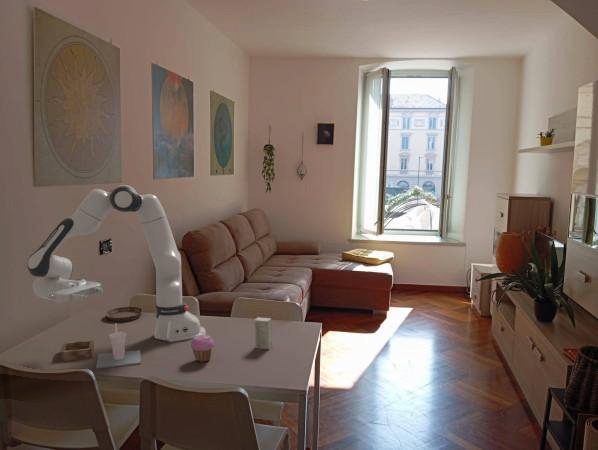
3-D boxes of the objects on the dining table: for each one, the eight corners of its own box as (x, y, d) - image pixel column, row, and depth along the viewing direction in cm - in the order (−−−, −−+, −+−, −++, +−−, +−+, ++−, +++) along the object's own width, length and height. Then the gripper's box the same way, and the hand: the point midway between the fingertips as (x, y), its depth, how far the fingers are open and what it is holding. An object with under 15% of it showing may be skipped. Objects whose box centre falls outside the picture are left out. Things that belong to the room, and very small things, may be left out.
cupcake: (218, 360, 204) (217, 335, 203) (199, 366, 198) (198, 340, 197) (205, 354, 210) (205, 330, 209) (186, 359, 205) (186, 335, 203)
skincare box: (272, 346, 220) (272, 318, 218) (268, 349, 216) (268, 321, 214) (258, 344, 222) (257, 316, 220) (254, 348, 217) (254, 319, 216)
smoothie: (115, 354, 208) (114, 320, 207) (130, 355, 207) (129, 321, 205) (107, 360, 202) (105, 325, 200) (122, 361, 201) (120, 326, 199)
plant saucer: (122, 325, 249) (122, 318, 248) (97, 319, 258) (97, 313, 258) (150, 315, 264) (150, 310, 263) (126, 310, 273) (126, 304, 273)
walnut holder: (94, 348, 217) (93, 339, 217) (91, 357, 207) (91, 349, 206) (64, 350, 214) (63, 342, 214) (60, 361, 203) (59, 352, 203)
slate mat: (140, 351, 214) (140, 350, 214) (140, 364, 200) (140, 362, 200) (98, 355, 209) (98, 354, 209) (96, 368, 196) (95, 367, 196)
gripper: (44, 289, 202) (71, 292, 197) (85, 278, 221) (111, 281, 215) (45, 305, 203) (72, 309, 197) (86, 292, 222) (111, 296, 216)
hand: (92, 294), depth 207 cm, fingers open, 8 cm apart
